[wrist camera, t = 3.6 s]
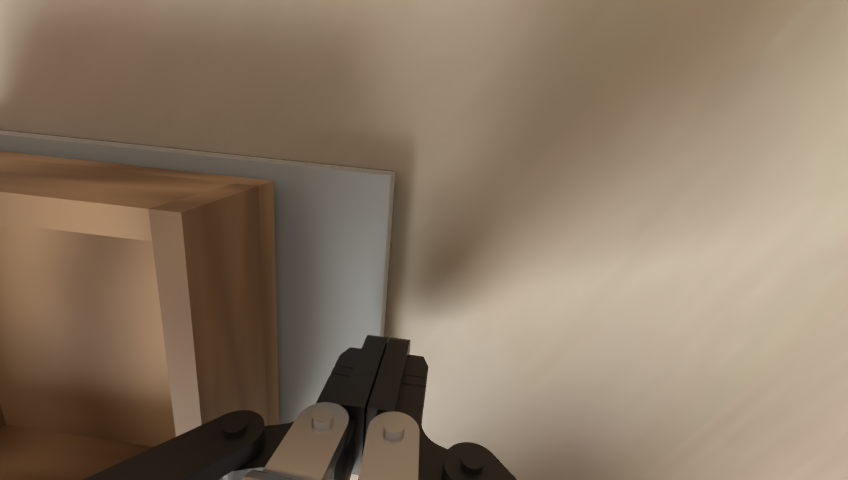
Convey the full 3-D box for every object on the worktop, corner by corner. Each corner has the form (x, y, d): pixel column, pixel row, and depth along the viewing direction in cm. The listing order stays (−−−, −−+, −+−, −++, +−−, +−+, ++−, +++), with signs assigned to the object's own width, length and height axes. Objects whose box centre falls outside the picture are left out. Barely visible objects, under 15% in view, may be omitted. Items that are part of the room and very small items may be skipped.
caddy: (273, 180, 13) (181, 212, 9) (279, 458, 16) (216, 578, 12) (-55, 145, 14) (-290, 158, 9) (19, 419, 17) (-130, 520, 13)
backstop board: (395, 171, 14) (361, 200, 9) (375, 453, 18) (344, 577, 13) (-153, 113, 15) (-435, 113, 10) (-62, 389, 19) (-237, 481, 14)
